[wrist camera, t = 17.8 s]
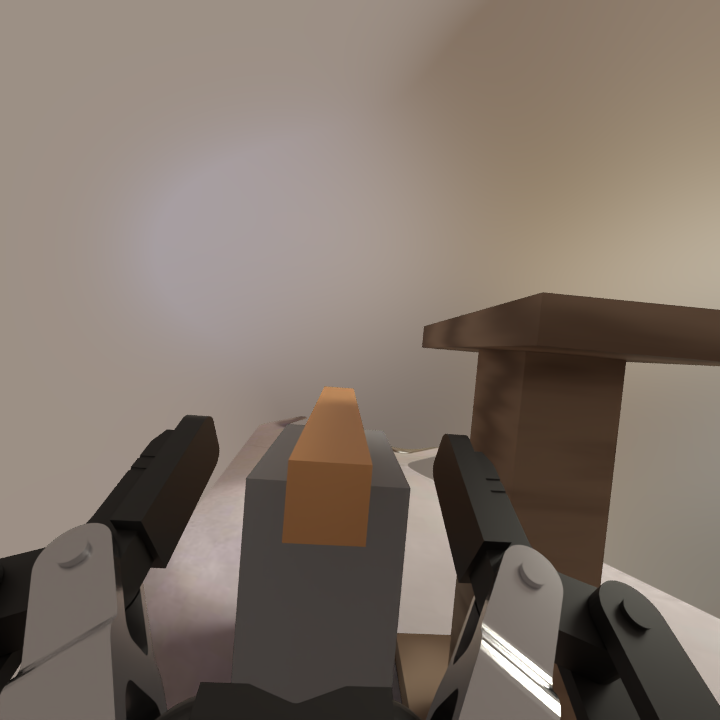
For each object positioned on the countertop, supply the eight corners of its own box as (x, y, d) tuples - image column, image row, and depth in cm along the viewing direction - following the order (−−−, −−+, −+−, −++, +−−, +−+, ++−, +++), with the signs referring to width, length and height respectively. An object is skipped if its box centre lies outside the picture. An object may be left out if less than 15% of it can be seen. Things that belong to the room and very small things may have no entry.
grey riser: (380, 809, 19) (410, 488, 19) (221, 809, 19) (246, 478, 18) (366, 623, 32) (383, 430, 31) (272, 620, 32) (287, 424, 31)
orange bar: (365, 546, 13) (372, 465, 13) (282, 542, 12) (288, 459, 12) (351, 417, 37) (353, 388, 36) (322, 415, 36) (324, 386, 36)
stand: (731, 1059, 13) (833, 321, 12) (461, 1070, 12) (542, 292, 11) (512, 656, 30) (546, 337, 29) (394, 652, 29) (424, 326, 28)
